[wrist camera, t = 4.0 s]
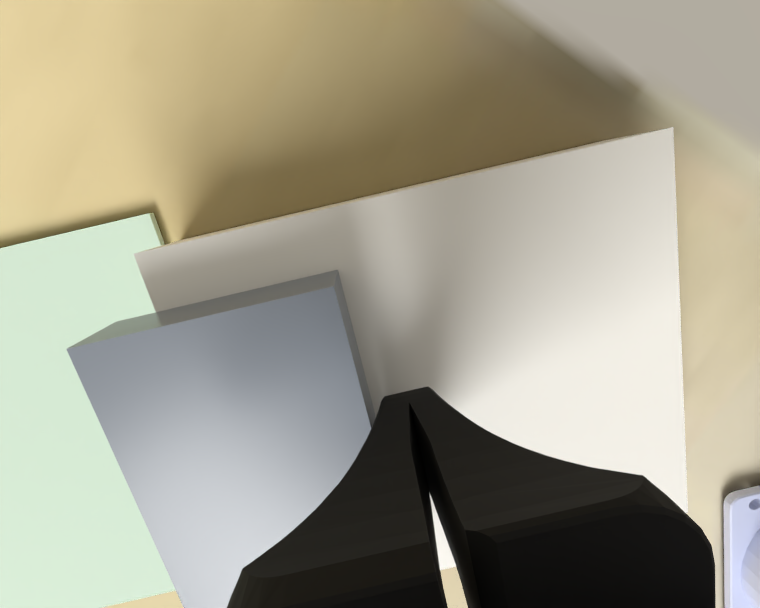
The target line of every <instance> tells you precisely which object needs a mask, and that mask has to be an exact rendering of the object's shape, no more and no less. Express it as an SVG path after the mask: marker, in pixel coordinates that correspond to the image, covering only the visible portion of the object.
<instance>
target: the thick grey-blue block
mask: <svg viewBox="0 0 760 608" xmlns="http://www.w3.org/2000/svg"><path fill="white" fill-rule="evenodd" d="M66 350H67V352H68V354H69V356H70V358H71V361H72V363H73V365H74V367H75V369H76V372H77V374H78V376H79V378H80V380H81V383H82V385H83V387H84V389H85V391H86V394H87V396H88V398H89V400H90V402H91V405H92V407H93V409H94V411H95V413H96V416H97V418H98V420H99V422H100V424H101V427H102V429H103V431H104V433H105V435H106V438H107V440H108V442H109V444H110V447H111V449H112V451H113V453H114V455H115V458H116V460H117V462H118V464H119V466H120V469H121V471H122V473H123V475H124V477H125V480H126V482H127V484H128V486H129V488H130V491H131V493H132V495H133V497H134V499H135V502H136V504H137V506H138V508H139V510H140V513H141V515H142V517H143V519H144V521H145V524H146V526H147V528H148V530H149V532H150V535H151V537H152V539H153V541H154V543H155V546H156V548H157V550H158V552H159V554H160V557H161V559H162V561H163V563H164V565H165V568H166V570H167V572H168V574H169V576H170V579H171V581H172V583H173V585H174V587H175V590H176V592H177V594H178V596H179V598H180V601H181V603H182V605H183V607H184V608H227V606H228V603H229V600H230V598H231V595H232V593H233V590H234V588H235V586H236V583H237V581H238V579H239V576H240V573H241V571H242V569H243V568H244V567H245V566H247V565H248V564H250V563H251V562H252V561H254V560H255V559H256V558H258V557H259V556H260V555H262V554H263V553H265V552H266V551H267V550H269V549H270V548H271V547H273V546H274V545H275V544H277V543H278V542H279V541H281V540H282V539H283V538H284V537H285V536H287V535H288V534H289V533H290V532H291V531H293V530H294V529H295V528H296V527H297V526H298V525H299V524H300V523H302V522H303V521H304V520H305V519H306V518H307V517H308V516H309V515H310V514H311V513H312V512H313V511H314V510H315V509H316V508H317V507H318V506H319V505H320V504H321V503H322V502H323V501H324V499H325V498H326V497H327V496H328V495H329V494H330V493H331V492H332V490H333V489H334V488H335V487H336V486H337V485H338V484H339V482H340V481H341V480H342V478H343V477H344V476H345V474H346V473H347V471H348V470H349V468H350V467H351V465H352V464H353V462H354V460H355V459H356V457H357V455H358V453H359V452H360V450H361V448H362V446H363V444H364V443H365V441H366V439H367V437H368V435H369V432H370V430H371V428H372V426H373V423H374V421H375V418H376V416H375V412H374V408H373V404H372V400H371V396H370V393H369V389H368V385H367V381H366V377H365V373H364V369H363V365H362V361H361V358H360V354H359V350H358V346H357V342H356V338H355V334H354V330H353V327H352V323H351V319H350V315H349V311H348V307H347V303H346V299H345V296H344V292H343V288H342V284H341V280H340V276H339V272H338V270H334V271H330V272H325V273H321V274H317V275H313V276H308V277H304V278H300V279H296V280H291V281H287V282H283V283H279V284H274V285H270V286H266V287H262V288H257V289H253V290H249V291H244V292H240V293H236V294H232V295H227V296H223V297H219V298H215V299H210V300H206V301H202V302H198V303H193V304H189V305H185V306H181V307H176V308H172V309H168V310H164V311H159V312H155V313H151V314H146V315H142V316H138V317H134V318H129V319H125V320H121V321H117V322H114V323H113V324H111V325H109V326H107V327H105V328H103V329H102V330H100V331H98V332H96V333H94V334H93V335H91V336H89V337H87V338H85V339H83V340H82V341H80V342H78V343H76V344H74V345H72V346H71V347H69V348H67V349H66Z"/></svg>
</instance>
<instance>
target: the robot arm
mask: <svg viewBox="0 0 760 608" xmlns="http://www.w3.org/2000/svg"><path fill="white" fill-rule="evenodd" d="M429 492H430V493H429ZM430 495H431V498H432V500H433V503H434V506H435V509H436V512H437V514H438V517H439V520H440V523H441V525H442V528H443V531H444V534H445V536H446V539H447V542H448V545H449V547H450V550H451V553H452V556H453V558H454V561H455V564H456V567H457V570H458V573H459V576H460V580H461V583H462V586H463V590H464V594H465V598H466V601H467V605H468V608H715V562H714V557H713V552H712V546H711V544H710V542H709V541H708V539H707V537H706V536H705V534H704V532H703V530H702V529H701V528H700V527H699V526H698V525H697V524H696V523H695V522H694V521H693V520H692V519H691V518H690V517H689V516H688V515H687V514H686V513H685V512H684V511H683V510H682V509H681V508H680V507H679V506H678V505H677V504H676V503H675V502H674V501H673V500H671V499H670V498H669V497H668V496H667V495H666V494H665V493H664V492H662V491H661V490H660V489H659V488H658V487H656V486H655V485H654V484H653V483H651V482H650V481H649V480H648V479H647V478H646V477H644V476H643V475H637V474H631V473H624V472H618V471H612V470H605V469H599V468H593V467H588V466H584V465H580V464H576V463H572V462H568V461H564V460H560V459H557V458H553V457H550V456H546V455H543V454H541V453H538V452H535V451H532V450H529V449H526V448H524V447H521V446H519V445H516V444H514V443H512V442H509V441H507V440H505V439H503V438H501V437H499V436H497V435H495V434H493V433H491V432H489V431H487V430H485V429H484V428H482V427H480V426H479V425H477V424H475V423H474V422H472V421H471V420H470V419H468V418H467V417H465V416H464V415H463V414H461V413H460V412H458V411H457V410H456V409H454V408H453V407H452V406H451V405H449V404H448V403H447V402H446V401H445V400H443V399H442V398H441V397H440V396H439V395H438V394H437V393H436V392H435V391H434V390H433V389H431V388H430V387H428V386H427V387H423V388H418V389H414V390H410V391H405V392H401V393H397V394H392V395H388V396H384V398H383V399H382V400H381V404H380V407H379V410H378V413H377V416H376V418H375V421H374V423H373V426H372V428H371V430H370V432H369V435H368V437H367V439H366V441H365V443H364V444H363V446H362V448H361V450H360V452H359V453H358V455H357V457H356V459H355V460H354V462H353V464H352V465H351V467H350V468H349V470H348V471H347V473H346V474H345V476H344V477H343V478H342V480H341V481H340V482H339V484H338V485H337V486H336V487H335V488H334V489H333V490H332V492H331V493H330V494H329V495H328V496H327V497H326V498H325V499H324V501H323V502H322V503H321V504H320V505H319V506H318V507H317V508H316V509H315V510H314V511H313V512H312V513H311V514H310V515H309V516H308V517H307V518H306V519H305V520H304V521H303V522H302V523H300V524H299V525H298V526H297V527H296V528H295V529H294V530H293V531H291V532H290V533H289V534H288V535H287V536H285V537H284V538H283V539H282V540H281V541H279V542H278V543H277V544H275V545H274V546H273V547H271V548H270V549H269V550H267V551H266V552H265V553H263V554H262V555H260V556H259V557H258V558H256V559H255V560H254V561H252V562H251V563H250V564H248V565H247V566H245V567H244V568H243V569H242V571H241V573H240V576H239V579H238V581H237V583H236V586H235V588H234V590H233V593H232V595H231V598H230V600H229V603H228V606H227V608H448V607H447V603H446V598H445V594H444V589H443V584H442V579H441V573H440V567H439V559H438V552H437V544H436V537H435V530H434V522H433V515H432V507H431V500H430ZM724 595H725V608H760V485H758V486H754V487H750V488H746V489H741V490H737V491H733V492H731V493H729V494H728V495H727V496H726V498H725V499H724Z"/></svg>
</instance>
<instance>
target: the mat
mask: <svg viewBox="0 0 760 608" xmlns="http://www.w3.org/2000/svg"><path fill="white" fill-rule="evenodd" d="M162 245H165V243H164V240H163V238H162V235H161V232H160V229H159V227H158V224H157V221H156V218H155V216H154V213H148V214H144V215H140V216H135V217H131V218H127V219H123V220H118V221H114V222H110V223H106V224H101V225H97V226H93V227H89V228H84V229H80V230H76V231H72V232H67V233H63V234H59V235H55V236H50V237H46V238H42V239H38V240H33V241H29V242H25V243H21V244H16V245H12V246H8V247H4V248H0V608H102V607H107V606H111V605H115V604H120V603H124V602H128V601H133V600H137V599H141V598H146V597H150V596H154V595H158V594H163V593H167V592H171V591H176V590H175V587H174V585H173V583H172V581H171V579H170V576H169V574H168V572H167V570H166V568H165V565H164V563H163V561H162V559H161V557H160V554H159V552H158V550H157V548H156V546H155V543H154V541H153V539H152V537H151V535H150V532H149V530H148V528H147V526H146V524H145V521H144V519H143V517H142V515H141V513H140V510H139V508H138V506H137V504H136V502H135V499H134V497H133V495H132V493H131V491H130V488H129V486H128V484H127V482H126V480H125V477H124V475H123V473H122V471H121V469H120V466H119V464H118V462H117V460H116V458H115V455H114V453H113V451H112V449H111V447H110V444H109V442H108V440H107V438H106V435H105V433H104V431H103V429H102V427H101V424H100V422H99V420H98V418H97V416H96V413H95V411H94V409H93V407H92V405H91V402H90V400H89V398H88V396H87V394H86V391H85V389H84V387H83V385H82V383H81V380H80V378H79V376H78V374H77V372H76V369H75V367H74V365H73V363H72V361H71V358H70V356H69V354H68V352H67V350H66V349H67V348H69V347H71V346H72V345H74V344H76V343H78V342H80V341H82V340H83V339H85V338H87V337H89V336H91V335H93V334H94V333H96V332H98V331H100V330H102V329H103V328H105V327H107V326H109V325H111V324H113V323H114V322H117V321H121V320H125V319H129V318H134V317H138V316H142V315H146V314H151V313H155V312H156V311H155V309H154V306H153V304H152V301H151V298H150V296H149V293H148V291H147V288H146V285H145V283H144V280H143V278H142V275H141V272H140V270H139V267H138V265H137V262H136V259H135V257H134V254H135V253H138V252H142V251H145V250H148V249H152V248H155V247H159V246H162Z"/></svg>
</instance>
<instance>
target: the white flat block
mask: <svg viewBox="0 0 760 608" xmlns="http://www.w3.org/2000/svg"><path fill="white" fill-rule="evenodd" d="M134 257H135V259H136V262H137V265H138V267H139V270H140V272H141V275H142V278H143V280H144V283H145V285H146V288H147V291H148V293H149V296H150V298H151V301H152V304H153V306H154V309H155V311H156V312H159V311H164V310H168V309H172V308H176V307H181V306H185V305H189V304H193V303H198V302H202V301H206V300H210V299H215V298H219V297H223V296H227V295H232V294H236V293H240V292H244V291H249V290H253V289H257V288H262V287H266V286H270V285H274V284H279V283H283V282H287V281H291V280H296V279H300V278H304V277H308V276H313V275H317V274H321V273H325V272H330V271H334V270H338V272H339V276H340V280H341V284H342V288H343V292H344V296H345V299H346V303H347V307H348V311H349V315H350V319H351V323H352V327H353V330H354V334H355V338H356V342H357V346H358V350H359V354H360V358H361V361H362V365H363V369H364V373H365V377H366V381H367V385H368V389H369V393H370V396H371V400H372V404H373V408H374V412H375V416H377V413H378V410H379V407H380V404H381V400H382V399H383V398H384V396H388V395H392V394H397V393H401V392H405V391H410V390H414V389H418V388H423V387H427V386H428V387H430V388H431V389H433V390H434V391H435V392H436V393H437V394H438V395H439V396H440V397H441V398H442V399H443V400H445V401H446V402H447V403H448V404H449V405H451V406H452V407H453V408H454V409H456V410H457V411H458V412H460V413H461V414H463V415H464V416H465V417H467V418H468V419H470V420H471V421H472V422H474V423H475V424H477V425H479V426H480V427H482V428H484V429H485V430H487V431H489V432H491V433H493V434H495V435H497V436H499V437H501V438H503V439H505V440H507V441H509V442H512V443H514V444H516V445H519V446H521V447H524V448H526V449H529V450H532V451H535V452H538V453H541V454H543V455H546V456H550V457H553V458H557V459H560V460H564V461H568V462H572V463H576V464H580V465H584V466H588V467H593V468H599V469H605V470H612V471H618V472H624V473H631V474H637V475H643V476H644V477H646V478H647V479H648V480H649V481H650V482H651V483H653V484H654V485H655V486H656V487H658V488H659V489H660V490H661V491H662V492H664V493H665V494H666V495H667V496H668V497H669V498H670V499H671V500H673V501H674V502H675V503H676V504H677V505H678V506H679V507H680V508H681V509H682V510H683V511H684V512H685V513H688V502H687V475H686V449H685V422H684V396H683V369H682V343H681V316H680V290H679V263H678V236H677V210H676V183H675V157H674V130H673V127H671V128H666V129H661V130H656V131H650V132H645V133H640V134H635V135H630V136H625V137H620V138H614V139H609V140H604V141H600V142H596V143H592V144H587V145H583V146H579V147H575V148H570V149H566V150H562V151H558V152H553V153H549V154H545V155H541V156H536V157H532V158H528V159H524V160H519V161H515V162H511V163H507V164H502V165H498V166H494V167H489V168H485V169H481V170H477V171H472V172H468V173H464V174H460V175H455V176H451V177H447V178H443V179H438V180H434V181H430V182H426V183H421V184H417V185H413V186H409V187H404V188H400V189H396V190H392V191H387V192H383V193H379V194H375V195H370V196H366V197H362V198H358V199H353V200H349V201H345V202H340V203H336V204H332V205H328V206H323V207H319V208H315V209H311V210H306V211H302V212H298V213H294V214H289V215H285V216H281V217H277V218H272V219H268V220H264V221H260V222H255V223H251V224H247V225H243V226H238V227H234V228H230V229H226V230H221V231H217V232H213V233H209V234H204V235H200V236H196V237H192V238H187V239H183V240H179V241H176V242H172V243H169V244H165V245H162V246H159V247H155V248H152V249H148V250H145V251H142V252H138V253H135V254H134ZM429 493H430V492H429ZM430 500H431V507H432V515H433V522H434V530H435V537H436V544H437V552H438V559H439V567H440V570H443V569H448V568H452V567H456V564H455V561H454V558H453V556H452V553H451V550H450V547H449V545H448V542H447V539H446V536H445V534H444V531H443V528H442V525H441V523H440V520H439V517H438V514H437V512H436V509H435V506H434V503H433V500H432V498H431V495H430Z"/></svg>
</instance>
